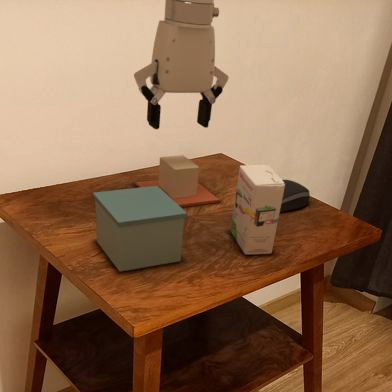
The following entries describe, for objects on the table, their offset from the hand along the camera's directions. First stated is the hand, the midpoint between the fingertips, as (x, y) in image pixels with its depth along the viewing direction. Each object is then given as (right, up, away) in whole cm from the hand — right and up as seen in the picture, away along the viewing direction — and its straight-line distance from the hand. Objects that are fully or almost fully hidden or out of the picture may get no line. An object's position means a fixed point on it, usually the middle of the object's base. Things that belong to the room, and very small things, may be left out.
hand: (178, 126), depth 95 cm
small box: (-1, -9, +7) cm, 12 cm away
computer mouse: (+20, -12, +9) cm, 24 cm away
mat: (-1, -10, +8) cm, 13 cm away
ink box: (+12, -22, -6) cm, 26 cm away
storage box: (-6, -24, -12) cm, 28 cm away
